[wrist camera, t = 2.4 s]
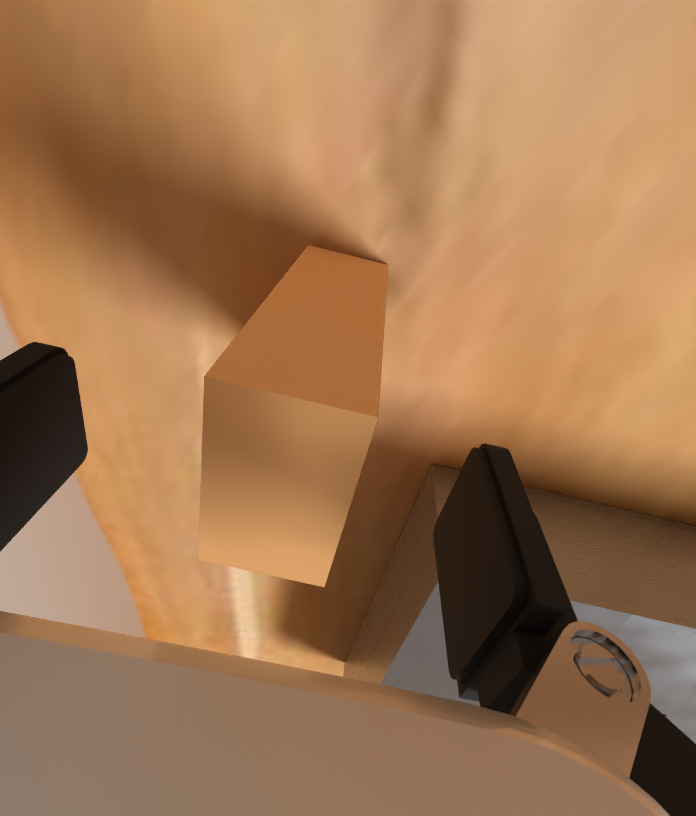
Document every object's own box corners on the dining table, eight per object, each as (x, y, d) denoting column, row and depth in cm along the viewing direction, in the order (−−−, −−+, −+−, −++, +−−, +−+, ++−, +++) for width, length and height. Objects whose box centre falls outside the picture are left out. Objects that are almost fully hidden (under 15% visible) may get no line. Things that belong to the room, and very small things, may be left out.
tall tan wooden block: (388, 264, 16) (378, 417, 7) (357, 379, 18) (324, 587, 10) (308, 244, 15) (204, 375, 7) (289, 363, 18) (198, 559, 10)
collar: (819, 554, 21) (951, 686, 16) (601, 718, 32) (639, 826, 27) (431, 463, 20) (443, 571, 15) (344, 663, 31) (334, 764, 26)
